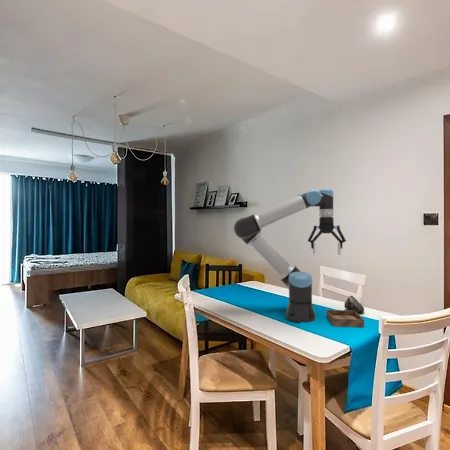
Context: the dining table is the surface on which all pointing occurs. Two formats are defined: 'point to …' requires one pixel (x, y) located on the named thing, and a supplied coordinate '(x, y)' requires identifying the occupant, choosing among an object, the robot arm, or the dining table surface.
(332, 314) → the walnut tray
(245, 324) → the dining table surface
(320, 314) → the dining table surface
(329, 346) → the dining table surface
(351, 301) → the fossil
